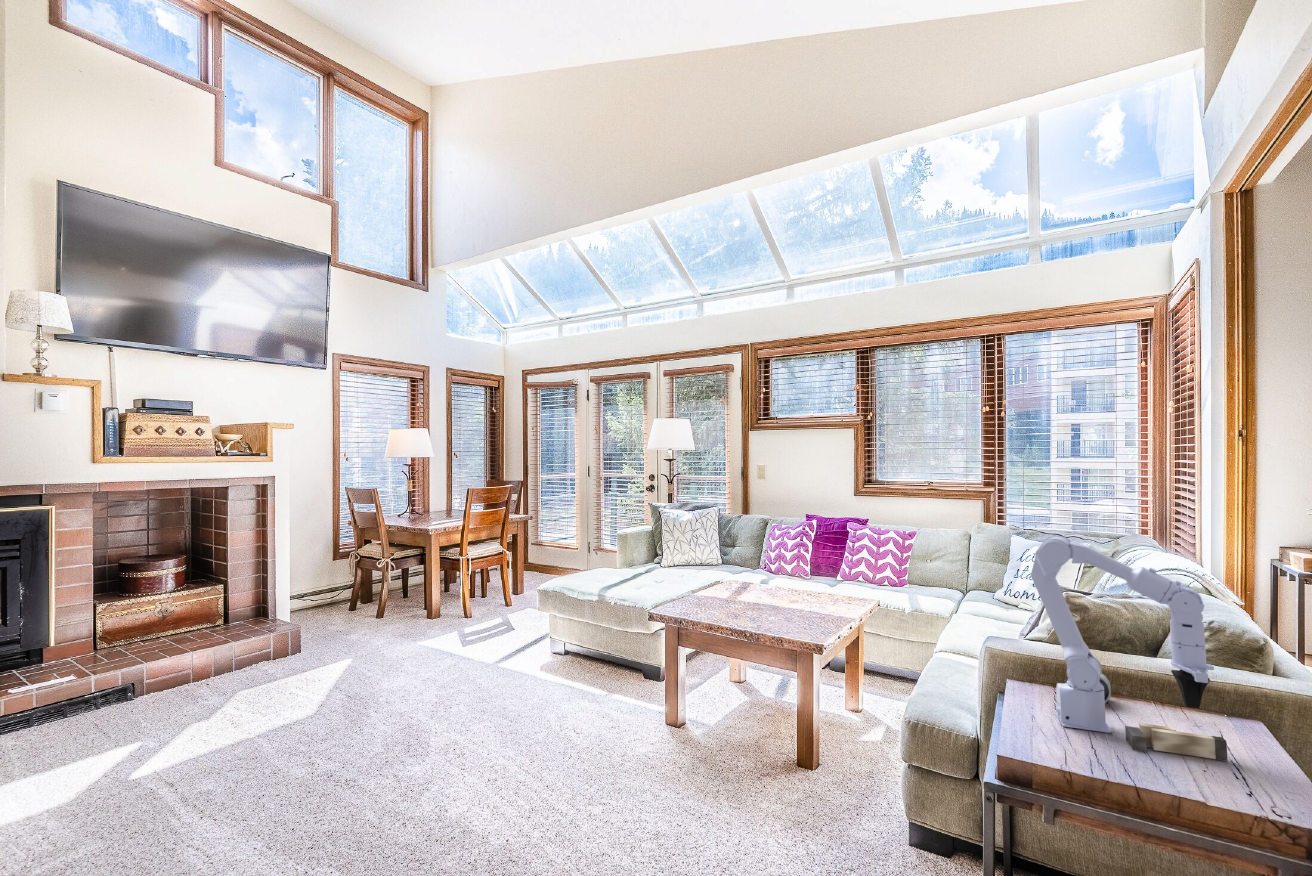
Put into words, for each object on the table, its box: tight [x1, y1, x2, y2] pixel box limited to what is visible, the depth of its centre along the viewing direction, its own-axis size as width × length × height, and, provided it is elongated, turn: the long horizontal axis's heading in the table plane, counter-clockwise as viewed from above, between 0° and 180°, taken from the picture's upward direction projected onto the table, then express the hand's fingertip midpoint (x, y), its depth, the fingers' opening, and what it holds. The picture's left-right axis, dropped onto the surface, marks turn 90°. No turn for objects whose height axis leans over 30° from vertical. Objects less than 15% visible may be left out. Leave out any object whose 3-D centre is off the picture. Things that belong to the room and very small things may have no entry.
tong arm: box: [1151, 728, 1228, 762], centre depth 128 cm, size 12×2×4 cm, turn 65°
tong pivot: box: [1124, 722, 1177, 753], centre depth 132 cm, size 8×6×4 cm, turn 65°
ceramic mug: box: [1099, 673, 1112, 704], centre depth 161 cm, size 11×8×8 cm
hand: (1192, 706), depth 133 cm, fingers closed
